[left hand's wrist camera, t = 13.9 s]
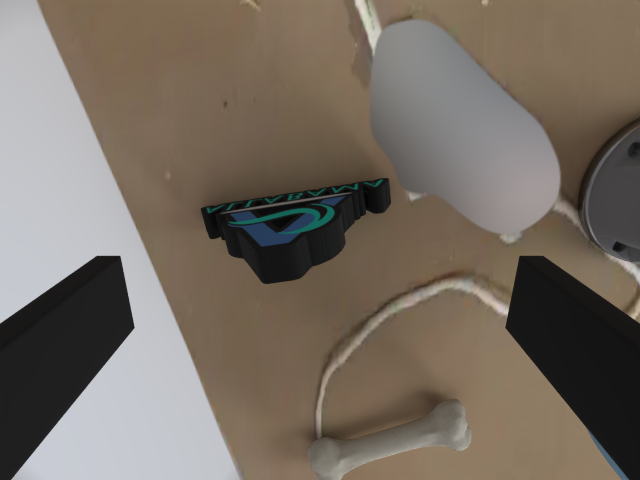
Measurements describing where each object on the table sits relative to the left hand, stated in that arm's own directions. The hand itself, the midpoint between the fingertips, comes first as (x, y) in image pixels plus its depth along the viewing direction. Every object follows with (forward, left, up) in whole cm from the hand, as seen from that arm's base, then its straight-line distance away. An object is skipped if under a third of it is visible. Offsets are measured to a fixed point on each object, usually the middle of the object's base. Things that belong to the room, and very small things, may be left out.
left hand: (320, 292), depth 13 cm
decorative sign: (+4, -3, -26) cm, 27 cm away
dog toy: (+34, +4, -26) cm, 43 cm away
